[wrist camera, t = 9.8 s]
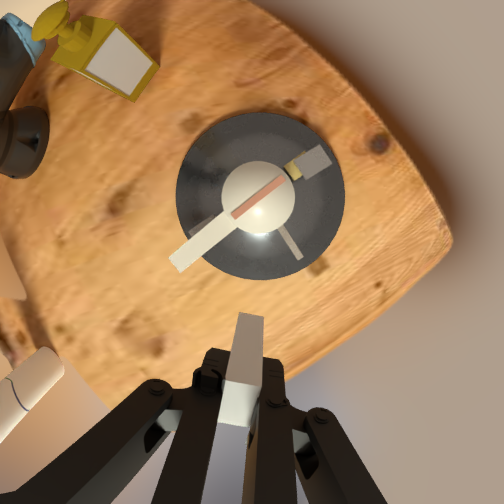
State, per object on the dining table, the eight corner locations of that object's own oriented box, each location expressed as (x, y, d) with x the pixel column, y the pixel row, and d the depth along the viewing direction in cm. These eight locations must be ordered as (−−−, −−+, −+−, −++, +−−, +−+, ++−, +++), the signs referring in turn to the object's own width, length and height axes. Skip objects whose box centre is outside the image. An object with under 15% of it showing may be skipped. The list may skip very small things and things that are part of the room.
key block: (290, 135, 35) (297, 122, 27) (326, 181, 36) (341, 179, 28) (171, 231, 39) (150, 241, 31) (206, 274, 40) (192, 293, 32)
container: (53, 346, 47) (-27, 419, 18) (69, 377, 49) (1, 454, 20) (35, 346, 48) (-40, 409, 19) (49, 375, 50) (-15, 442, 21)
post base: (149, 177, 38) (138, 176, 35) (281, 86, 35) (283, 76, 31) (238, 306, 42) (235, 316, 38) (371, 221, 38) (380, 224, 35)
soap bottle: (180, 42, 33) (119, -46, 10) (134, 102, 36) (35, 49, 13) (149, 31, 33) (82, -44, 10) (106, 88, 35) (11, 42, 12)
